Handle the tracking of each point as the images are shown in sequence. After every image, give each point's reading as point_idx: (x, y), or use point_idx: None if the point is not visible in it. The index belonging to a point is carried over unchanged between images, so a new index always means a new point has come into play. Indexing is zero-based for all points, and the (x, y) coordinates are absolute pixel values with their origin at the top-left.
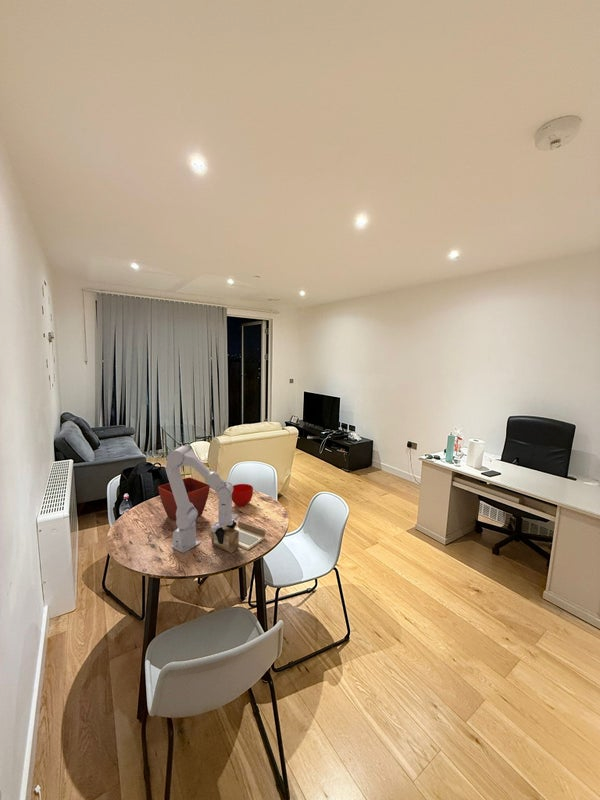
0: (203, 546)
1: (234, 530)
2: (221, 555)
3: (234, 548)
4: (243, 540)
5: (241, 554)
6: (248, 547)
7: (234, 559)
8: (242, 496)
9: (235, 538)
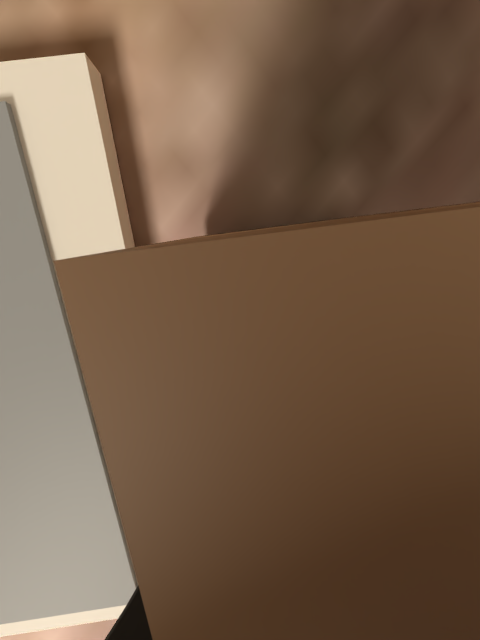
0: None
1: (327, 601)
2: None
3: (302, 223)
4: (8, 321)
5: (268, 66)
6: (72, 59)
7: (438, 47)
8: None
9: (349, 218)
